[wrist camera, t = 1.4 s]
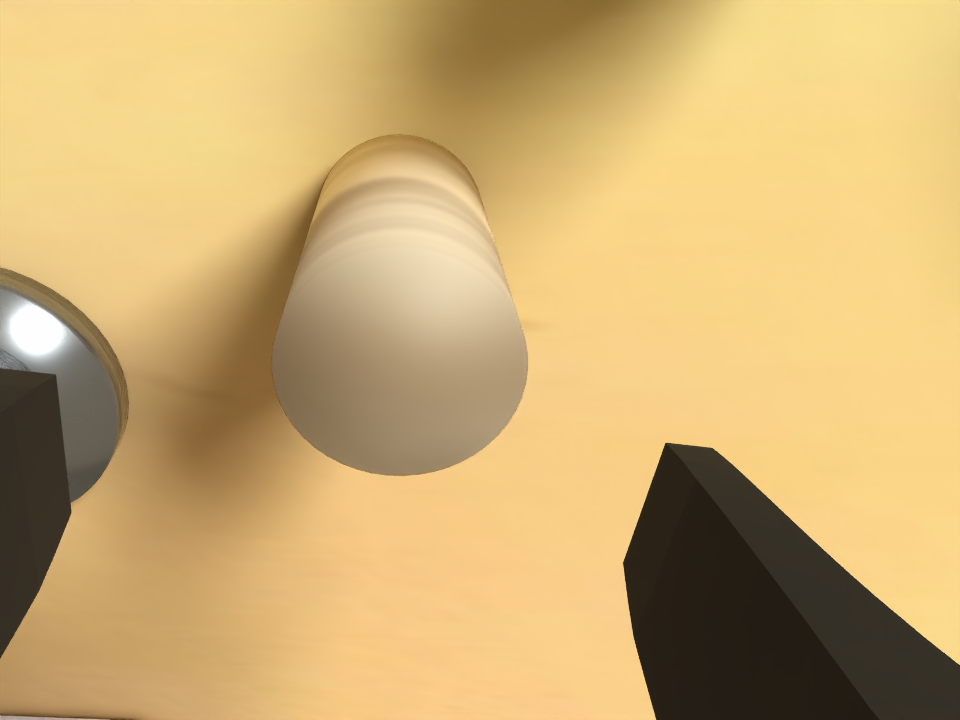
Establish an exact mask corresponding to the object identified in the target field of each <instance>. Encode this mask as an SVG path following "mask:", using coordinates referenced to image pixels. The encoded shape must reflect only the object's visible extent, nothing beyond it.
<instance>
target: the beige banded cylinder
mask: <svg viewBox="0 0 960 720" xmlns="http://www.w3.org/2000/svg"><path fill="white" fill-rule="evenodd" d="M527 372H528V353H527V346H526V340H525V337H524V333H523V330H522V327H521V324H520V321H519V317H518V314H517V311H516V308H515V305H514V302H513V298H512V295H511V292H510V289H509V286H508V283H507V280H506V276H505V273H504V270H503V267H502V264H501V261H500V258H499V254H498V251H497V248H496V245H495V242H494V239H493V236H492V232H491V229H490V226H489V223H488V220H487V217H486V213H485V210H484V207H483V204H482V201H481V198H480V195H479V191H478V188H477V186H476V184H475V182H474V179H473V178H472V176H471V174H470V173H469V171H468V170H467V168H466V167H465V166H464V165H463V164H462V162H461V161H460V160H459V159H458V158H457V157H456V156H454V155H453V154H452V153H451V152H449V151H448V150H447V149H445V148H444V147H442V146H440V145H438V144H436V143H434V142H432V141H429V140H426V139H424V138H420V137H415V136H409V135H388V136H383V137H378V138H375V139H372V140H368V141H366V142H364V143H362V144H360V145H358V146H356V147H355V148H353V149H352V150H350V151H349V152H348V153H346V154H345V155H344V156H343V157H342V158H341V159H340V160H339V161H338V162H337V163H336V165H335V166H334V167H333V168H332V170H331V172H330V173H329V175H328V176H327V178H326V181H325V183H324V185H323V188H322V191H321V194H320V197H319V200H318V203H317V207H316V210H315V213H314V216H313V219H312V222H311V225H310V229H309V232H308V235H307V238H306V241H305V244H304V247H303V251H302V254H301V257H300V260H299V263H298V266H297V269H296V273H295V276H294V279H293V282H292V285H291V288H290V291H289V294H288V298H287V301H286V304H285V307H284V310H283V313H282V316H281V320H280V323H279V326H278V329H277V333H276V336H275V339H274V344H273V351H272V376H273V382H274V387H275V390H276V393H277V396H278V399H279V402H280V404H281V406H282V408H283V410H284V412H285V414H286V416H287V417H288V419H289V420H290V422H291V423H292V425H293V426H294V427H295V429H296V430H297V431H298V432H299V433H300V434H301V435H302V436H303V438H304V439H306V440H307V441H308V442H309V443H310V444H311V445H312V446H314V447H315V448H316V449H318V450H319V451H321V452H322V453H323V454H325V455H326V456H328V457H330V458H332V459H334V460H336V461H338V462H339V463H341V464H344V465H347V466H349V467H352V468H354V469H357V470H361V471H365V472H369V473H374V474H381V475H393V476H407V475H419V474H425V473H430V472H435V471H438V470H441V469H445V468H448V467H450V466H453V465H455V464H458V463H460V462H462V461H464V460H466V459H468V458H469V457H471V456H473V455H475V454H476V453H478V452H479V451H480V450H482V449H483V448H484V447H486V446H487V445H488V444H489V443H490V442H491V441H493V440H494V439H495V438H496V437H497V436H498V435H499V434H500V433H501V431H502V430H503V429H504V428H505V426H506V425H507V424H508V423H509V421H510V419H511V418H512V416H513V415H514V413H515V412H516V409H517V407H518V405H519V403H520V401H521V398H522V395H523V392H524V388H525V385H526V379H527Z"/></svg>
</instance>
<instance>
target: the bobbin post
mask: <svg viewBox="0 0 960 720" xmlns="http://www.w3.org/2000/svg"><path fill="white" fill-rule="evenodd" d="M0 368H3V369H12V370H21V371H30V372H39V373H48V374H56V378H57V387H58V396H59V405H60V414H61V423H62V432H63V441H64V450H65V459H66V468H67V477H68V486H69V495H70V503H71V502H73V501H74V500H76V499H78V498H79V497H80V496H82V495H83V494H84V493H85V492H86V491H88V490H89V489H90V488H91V487H92V486H93V485H94V484H95V482H96V481H97V480H98V479H99V478H100V477H101V475H102V473H103V472H104V470H105V469H106V467H107V465H108V464H109V462H110V460H111V458H112V456H113V455H114V453H115V451H116V449H117V447H118V446H119V444H120V442H121V439H122V437H123V434H124V432H125V428H126V423H127V419H128V406H129V400H128V391H127V385H126V381H125V378H124V374H123V371H122V368H121V366H120V364H119V361H118V359H117V356H116V355H115V353H114V351H113V350H112V348H111V346H110V345H109V343H108V341H107V340H106V339H105V337H104V336H103V335H102V333H101V332H100V331H99V329H98V328H97V327H96V326H95V325H94V324H93V323H92V322H91V321H90V320H89V318H88V317H87V316H86V315H85V314H84V313H83V312H81V311H80V310H79V309H78V308H77V307H75V306H74V305H73V304H72V303H71V302H69V301H68V300H67V299H65V298H64V297H62V296H61V295H59V294H58V293H56V292H55V291H53V290H52V289H50V288H48V287H46V286H44V285H42V284H41V283H39V282H37V281H35V280H33V279H31V278H28V277H26V276H23V275H21V274H18V273H16V272H13V271H10V270H7V269H3V268H0Z"/></svg>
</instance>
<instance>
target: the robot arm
mask: <svg viewBox="0 0 960 720" xmlns="http://www.w3.org/2000/svg"><path fill="white" fill-rule="evenodd" d="M70 515H71V504H70V495H69V486H68V477H67V468H66V459H65V450H64V441H63V432H62V423H61V414H60V405H59V396H58V387H57V378H56V374H48V373H39V372H30V371H21V370H12V369H3V368H0V658H1V656H2V655H3V653H4V651H5V649H6V648H7V646H8V644H9V642H10V641H11V639H12V637H13V636H14V634H15V632H16V630H17V629H18V627H19V625H20V623H21V622H22V620H23V618H24V616H25V615H26V613H27V611H28V609H29V608H30V606H31V604H32V602H33V601H34V599H35V597H36V595H37V593H38V592H39V590H40V587H41V585H42V583H43V580H44V578H45V576H46V574H47V571H48V569H49V567H50V564H51V562H52V560H53V557H54V555H55V553H56V550H57V548H58V545H59V542H60V540H61V537H62V535H63V532H64V530H65V527H66V525H67V522H68V520H69V517H70ZM623 566H624V573H625V581H626V589H627V597H628V604H629V611H630V617H631V623H632V629H633V636H634V640H635V644H636V648H637V652H638V655H639V659H640V663H641V666H642V670H643V674H644V677H645V681H646V684H647V688H648V692H649V695H650V699H651V702H652V706H653V709H654V713H655V716H656V720H960V665H959V664H957V663H956V662H955V661H954V660H952V659H951V658H950V657H949V656H947V655H946V654H945V653H943V652H942V651H941V650H940V649H938V648H937V647H936V646H935V645H933V644H932V643H931V642H930V641H928V640H927V639H926V638H925V637H923V636H922V635H921V634H920V633H919V632H917V631H916V630H915V629H914V628H913V627H911V626H910V625H909V624H908V623H907V622H905V621H904V620H903V619H902V618H901V617H899V616H898V615H897V614H896V613H895V612H894V611H892V610H891V609H890V608H889V607H888V606H886V605H885V604H884V603H883V602H882V601H880V600H879V599H878V598H877V597H876V596H874V595H873V594H872V593H871V592H870V591H869V590H868V589H867V588H865V587H864V586H863V585H862V584H861V583H860V582H859V581H857V580H856V579H855V578H854V577H853V576H852V575H851V574H849V573H848V572H847V571H846V570H845V569H844V568H843V567H842V566H841V565H840V564H838V563H837V562H836V561H835V560H834V559H833V558H832V557H831V556H830V555H829V554H827V553H826V552H825V551H824V550H823V549H822V548H821V547H820V546H819V545H818V544H817V543H816V542H814V541H813V540H812V539H811V538H810V537H809V536H808V535H807V534H806V533H805V532H804V531H803V530H802V529H801V528H799V527H798V526H797V525H796V524H795V523H794V522H793V521H792V520H791V519H790V518H789V517H788V516H787V515H786V514H785V513H784V512H782V511H781V510H780V509H779V508H778V507H777V506H776V505H775V504H774V503H773V502H772V501H771V500H770V499H769V498H768V497H767V496H766V495H764V494H763V493H762V492H761V491H760V490H759V489H758V488H757V487H756V486H755V485H754V484H753V483H752V482H751V481H750V480H748V479H747V478H746V477H745V476H744V475H743V474H742V473H741V472H740V471H739V470H738V469H737V468H735V467H734V466H733V465H732V464H731V463H730V462H729V461H727V460H726V459H725V458H724V457H723V456H722V455H720V454H719V453H718V452H717V451H715V450H714V449H713V448H708V447H699V446H690V445H681V444H672V443H665V446H664V449H663V452H662V455H661V457H660V460H659V463H658V466H657V469H656V472H655V474H654V477H653V480H652V483H651V486H650V488H649V491H648V494H647V497H646V500H645V503H644V505H643V508H642V511H641V514H640V517H639V519H638V522H637V525H636V528H635V531H634V534H633V536H632V539H631V542H630V545H629V548H628V551H627V553H626V556H625V559H624V562H623ZM0 720H108V719H81V718H54V717H28V716H1V715H0Z"/></svg>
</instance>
